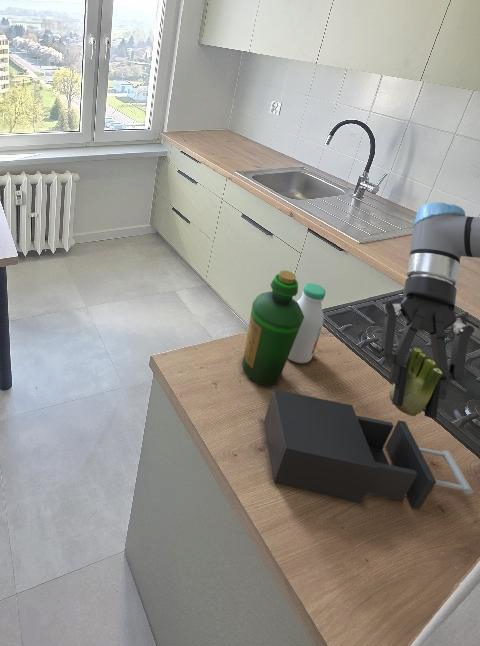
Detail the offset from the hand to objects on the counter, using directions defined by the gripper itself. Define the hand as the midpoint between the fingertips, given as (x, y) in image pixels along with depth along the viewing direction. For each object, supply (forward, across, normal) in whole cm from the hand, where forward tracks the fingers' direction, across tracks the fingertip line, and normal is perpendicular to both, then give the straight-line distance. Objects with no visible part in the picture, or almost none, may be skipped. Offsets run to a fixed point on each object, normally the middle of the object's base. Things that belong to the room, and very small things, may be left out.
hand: (413, 410), depth 72 cm
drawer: (+12, -1, -11) cm, 16 cm away
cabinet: (+15, +12, -10) cm, 22 cm away
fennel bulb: (0, 0, -5) cm, 5 cm away
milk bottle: (-5, +17, -30) cm, 35 cm away
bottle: (+2, +24, -22) cm, 33 cm away
